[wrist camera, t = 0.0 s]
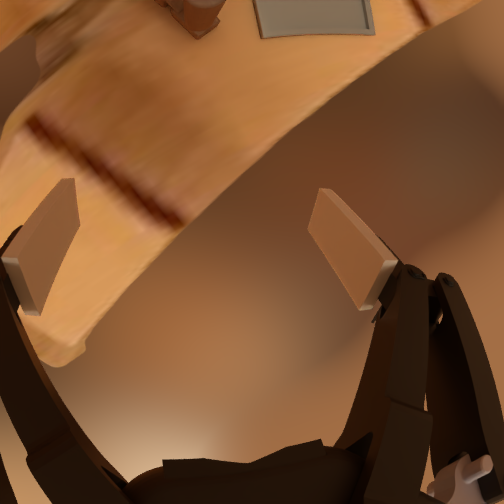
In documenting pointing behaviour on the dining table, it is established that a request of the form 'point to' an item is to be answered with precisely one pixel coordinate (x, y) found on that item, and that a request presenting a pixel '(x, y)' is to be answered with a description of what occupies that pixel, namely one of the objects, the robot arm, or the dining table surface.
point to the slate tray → (313, 17)
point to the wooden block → (195, 14)
